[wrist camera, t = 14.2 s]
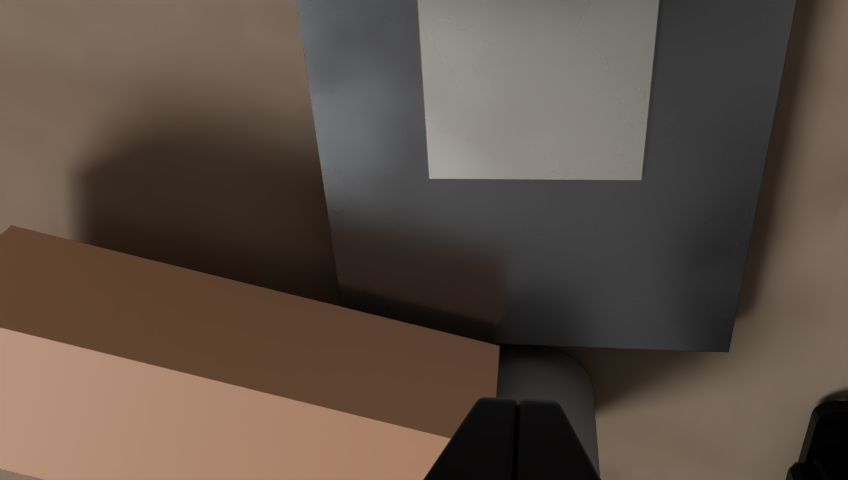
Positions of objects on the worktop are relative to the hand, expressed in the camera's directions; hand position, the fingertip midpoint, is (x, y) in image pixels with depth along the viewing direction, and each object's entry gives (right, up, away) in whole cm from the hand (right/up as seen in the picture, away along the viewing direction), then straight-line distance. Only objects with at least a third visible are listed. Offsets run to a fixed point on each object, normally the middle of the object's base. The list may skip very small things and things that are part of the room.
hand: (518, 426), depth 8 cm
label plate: (+2, +5, +10) cm, 11 cm away
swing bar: (-4, -1, +14) cm, 15 cm away
